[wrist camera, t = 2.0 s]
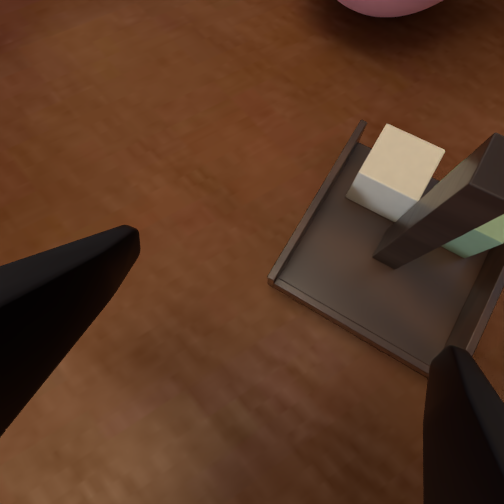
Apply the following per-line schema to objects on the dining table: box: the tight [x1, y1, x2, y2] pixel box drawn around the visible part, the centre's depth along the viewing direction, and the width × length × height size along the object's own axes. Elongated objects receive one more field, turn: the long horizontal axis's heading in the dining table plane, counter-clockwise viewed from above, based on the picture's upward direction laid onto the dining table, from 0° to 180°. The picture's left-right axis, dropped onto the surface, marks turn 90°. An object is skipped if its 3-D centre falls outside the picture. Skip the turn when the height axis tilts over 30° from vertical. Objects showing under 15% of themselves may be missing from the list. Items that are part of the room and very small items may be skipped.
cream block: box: [346, 124, 445, 222], centre depth 23 cm, size 4×4×4 cm
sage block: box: [434, 159, 504, 258], centre depth 22 cm, size 4×4×4 cm
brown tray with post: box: [267, 120, 504, 378], centre depth 18 cm, size 13×13×12 cm
